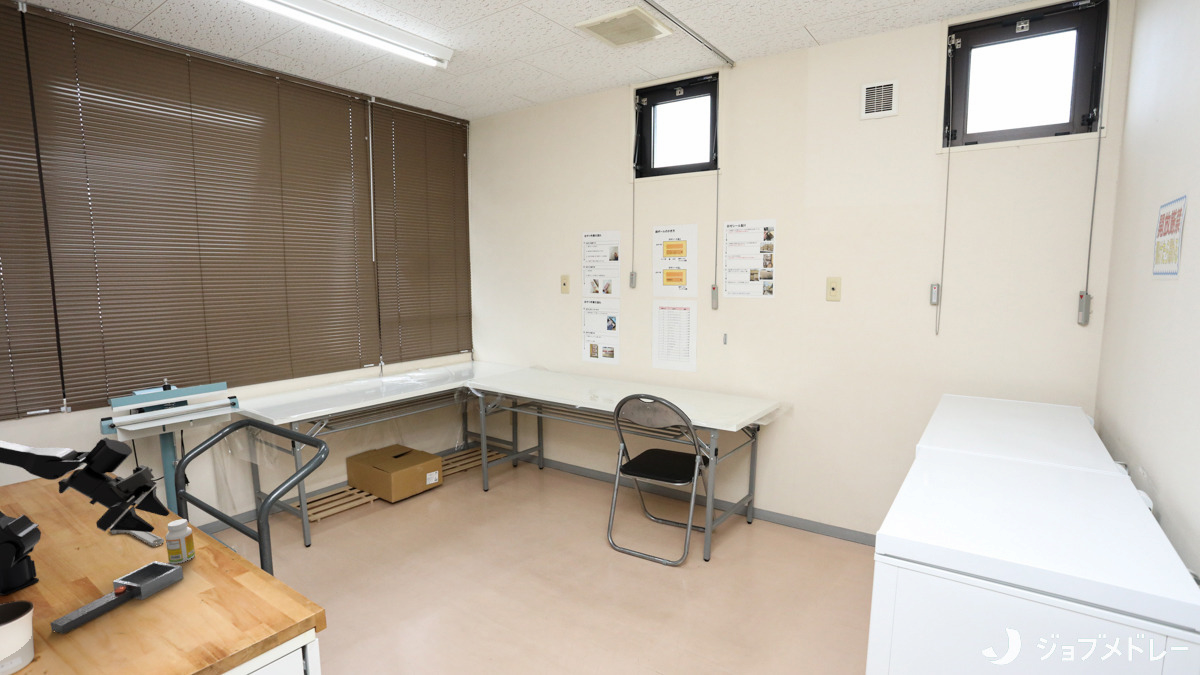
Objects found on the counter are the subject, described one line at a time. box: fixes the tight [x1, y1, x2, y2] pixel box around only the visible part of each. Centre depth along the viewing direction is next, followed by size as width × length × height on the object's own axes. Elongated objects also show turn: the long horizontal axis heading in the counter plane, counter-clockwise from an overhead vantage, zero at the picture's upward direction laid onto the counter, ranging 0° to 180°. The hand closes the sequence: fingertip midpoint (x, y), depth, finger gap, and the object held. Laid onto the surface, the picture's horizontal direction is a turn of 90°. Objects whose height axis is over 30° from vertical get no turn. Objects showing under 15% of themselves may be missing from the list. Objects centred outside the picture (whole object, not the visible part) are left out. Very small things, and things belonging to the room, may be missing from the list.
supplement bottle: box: [165, 518, 196, 565], centre depth 141 cm, size 5×5×10 cm
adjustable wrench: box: [109, 525, 165, 547], centre depth 155 cm, size 25×6×2 cm, turn 55°
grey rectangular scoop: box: [50, 560, 184, 635], centre depth 124 cm, size 22×9×3 cm, turn 162°
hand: (160, 522), depth 140 cm, fingers open, 9 cm apart
